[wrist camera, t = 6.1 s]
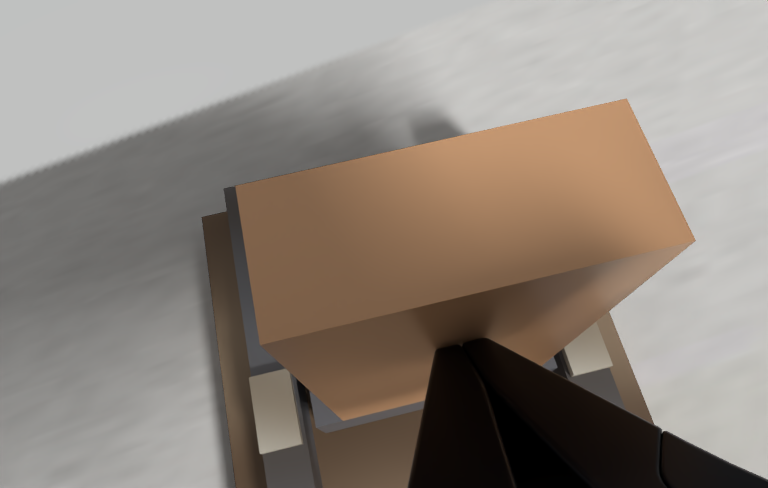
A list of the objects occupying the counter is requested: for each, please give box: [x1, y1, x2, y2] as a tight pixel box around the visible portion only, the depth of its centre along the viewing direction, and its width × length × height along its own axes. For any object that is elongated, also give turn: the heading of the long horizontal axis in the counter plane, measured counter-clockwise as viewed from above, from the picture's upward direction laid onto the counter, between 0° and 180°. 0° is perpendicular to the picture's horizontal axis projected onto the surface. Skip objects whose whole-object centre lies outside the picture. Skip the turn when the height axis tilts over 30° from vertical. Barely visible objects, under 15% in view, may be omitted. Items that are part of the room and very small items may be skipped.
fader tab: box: [235, 99, 696, 433], centre depth 13 cm, size 6×6×11 cm
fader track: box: [202, 186, 654, 488], centre depth 16 cm, size 18×12×3 cm, turn 13°
